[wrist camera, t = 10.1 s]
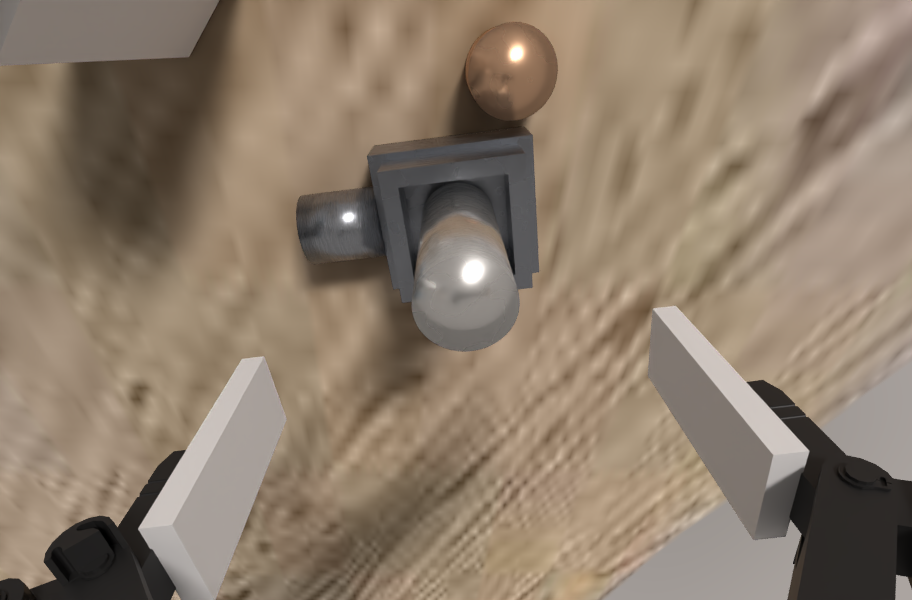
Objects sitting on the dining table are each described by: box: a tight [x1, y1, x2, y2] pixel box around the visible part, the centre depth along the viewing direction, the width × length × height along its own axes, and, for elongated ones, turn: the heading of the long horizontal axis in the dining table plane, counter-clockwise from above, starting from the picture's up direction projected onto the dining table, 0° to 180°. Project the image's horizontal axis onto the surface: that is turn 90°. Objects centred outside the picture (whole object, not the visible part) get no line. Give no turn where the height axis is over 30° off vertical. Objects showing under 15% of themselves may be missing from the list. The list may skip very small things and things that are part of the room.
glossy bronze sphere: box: [465, 22, 558, 121], centre depth 29 cm, size 5×5×4 cm
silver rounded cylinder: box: [412, 183, 520, 351], centre depth 27 cm, size 5×5×12 cm
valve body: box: [296, 126, 539, 303], centre depth 33 cm, size 15×12×6 cm
